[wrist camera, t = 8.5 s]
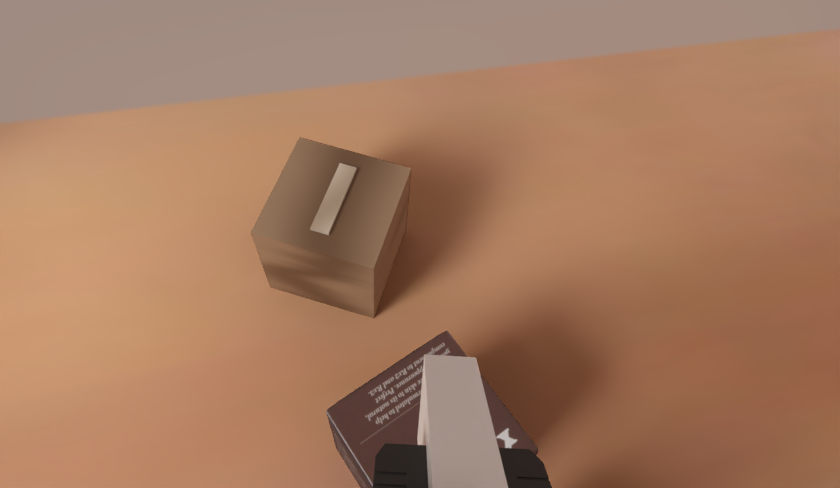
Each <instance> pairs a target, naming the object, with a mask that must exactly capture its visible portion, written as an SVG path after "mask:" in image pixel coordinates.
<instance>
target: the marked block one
mask: <svg viewBox="0 0 840 488" xmlns="http://www.w3.org/2000/svg"><path fill="white" fill-rule="evenodd" d="M410 179H411V168H409V167H406V166H402V165H398V164H395V163H391V162H388V161H384V160H380V159H377V158H373V157H370V156H366V155H362V154H359V153H355V152H351V151H348V150H344V149H341V148H337V147H333V146H330V145H326V144H322V143H319V142H315V141H312V140H308V139H304V138H301V137H300V138H299V140H298V142H297V144H296V146H295V147H294V149H293V151H292V153H291V155H290V157H289V159H288V161H287V163H286V165H285V167H284V169H283V171H282V173H281V175H280V177H279V179H278V181H277V183H276V185H275V187H274V188H273V190H272V192H271V194H270V196H269V198H268V200H267V202H266V204H265V206H264V208H263V210H262V212H261V214H260V216H259V218H258V220H257V222H256V224H255V226H254V228H253V229H252V231H251V234H252V237H253V240H254V243H255V245H256V248H257V251H258V254H259V257H260V260H261V262H262V265H263V268H264V271H265V274H266V276H267V279H268V282H269V285H270V287H271V288H274V289H278V290H281V291H284V292H288V293H291V294H295V295H298V296H301V297H305V298H308V299H311V300H315V301H318V302H321V303H325V304H328V305H331V306H335V307H338V308H341V309H345V310H348V311H351V312H355V313H358V314H361V315H365V316H368V317H371V318H374V317H375V314H376V311H377V308H378V306H379V303H380V300H381V297H382V294H383V292H384V289H385V286H386V283H387V280H388V278H389V275H390V272H391V269H392V266H393V264H394V261H395V258H396V255H397V253H398V250H399V247H400V244H401V241H402V239H403V236H404V233H405V230H406V224H407V213H408V202H409V190H410Z"/></svg>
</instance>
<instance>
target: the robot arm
mask: <svg viewBox="0 0 840 488" xmlns="http://www.w3.org/2000/svg"><path fill="white" fill-rule="evenodd" d="M417 441H418V445H409V444H390V443H385V444H384V445H383V447H382V448H381V449H380V451H379V452H378V453H377V455H376V456H375V467H374V479H373V488H552V487H551V484H550V481H549V480H548V475H547V472H546V470H545V467H544V464H543V462H542V461H541V460H540V459H539V458H538V457H537V456H536V455H535V454H534V453H533V452H532V451H531V450H530V449H515V448H498V444H497V440H496V436H495V432H494V428H493V424H492V420H491V416H490V412H489V408H488V404H487V400H486V396H485V392H484V388H483V384H482V379H481V375H480V371H479V367H478V363H477V359H476V357H461V356H444V355H427V354H424V364H423V376H422V388H421V400H420V412H419V424H418V436H417Z"/></svg>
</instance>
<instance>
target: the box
mask: <svg viewBox="0 0 840 488" xmlns="http://www.w3.org/2000/svg"><path fill="white" fill-rule="evenodd" d="M424 354H427V355H444V356H461V357H467V356H466V354H465V353H464V352H463V350H462V349H461V348H460V346H459V345H458V344H457V343H456V341H455V340H454V339H453V337H452V336H451V335H450V333H449V332H448V331H445V332H443V333H442V334H440V335H438V336H436V337H435V338H434V339H432V340H430V341H429V342H427V343H426V344H424V345H422V346H421V347H419V348H418V349H416V350H415V351H413V352H412V353H410V354H409V355H407V356H406V357H404V358H403V359H401V360H400V361H398V362H397V363H395V364H394V365H392V366H391V367H389V368H388V369H386V370H385V371H383V372H382V373H380V374H379V375H377V376H376V377H374V378H373V379H371V380H370V381H368V382H367V383H365V384H364V385H363V386H361V387H359V388H358V389H356V390H355V391H353V392H352V393H350V394H349V395H347V396H346V397H345V398H343V399H342V400H340V401H338V402H337V403H336V404H334V405H333V406H332V407H330V408H329V409H328V410H327V416H328V419H329V423H330V427H331V430H332V433H333V437H334V442H335V444H336V448H337V450H338V452H339V453H340V455H341V457H342V458H343V460H344V461H345V463H346V465H347V466H348V468H349V469H350V471H351V473H352V474H353V476H354V478H355V479H356V481H357V482H358V484H359V486H360V487H361V488H373V479H374V467H375V456H376V455H377V453H378V452H379V451H380V449H381V448H382V447H383V445H384V444H385V443H390V444H409V445H418V441H417V436H418V424H419V412H420V400H421V388H422V376H423V364H424ZM480 375H481V374H480ZM481 379H482V384H483V388H484V392H485V396H486V400H487V404H488V408H489V412H490V416H491V420H492V424H493V428H494V432H495V436H496V440H497V444H498V448H515V449H530V450H531V451H532V452H533V453H534V454H535V455H536V454H537V453H538V448H537V446H536V445H535V444H534V443H533V441H532V440H531V439H530V438H529V436H528V435H527V434H526V433H525V431H524V430H523V429H522V427H521V426H520V425H519V423H518V422H517V421H516V419H515V418H514V417H513V416H512V414H511V413H510V412H509V411H508V409H507V408H506V406H505V405H504V404H503V403H502V401H501V400H500V399H499V398H498V396H497V395H496V394H495V392H494V391H493V389H492V388H491V387H490V386H489V384H488V383H487V382H486V381H485V379H484V378H483V377H482V375H481Z"/></svg>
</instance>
